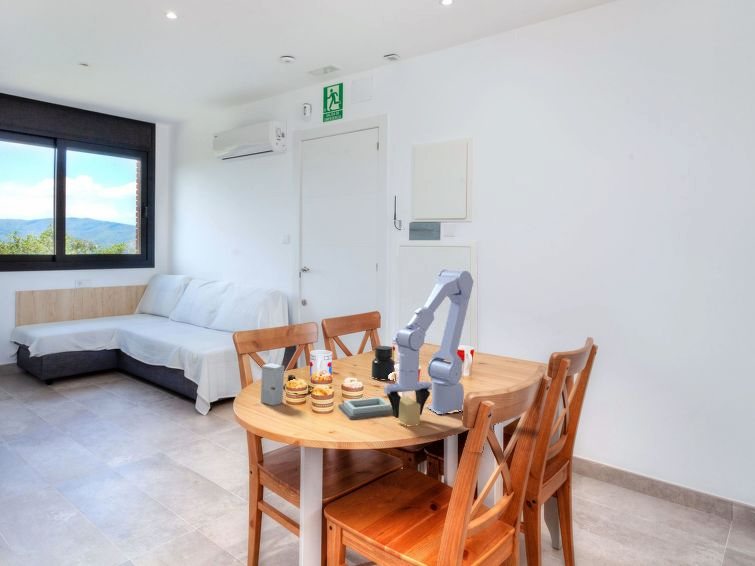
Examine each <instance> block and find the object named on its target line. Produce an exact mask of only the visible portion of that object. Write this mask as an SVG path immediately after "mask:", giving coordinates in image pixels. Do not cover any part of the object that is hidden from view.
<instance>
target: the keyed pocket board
mask: <svg viewBox="0 0 755 566" xmlns="http://www.w3.org/2000/svg"><path fill="white" fill-rule="evenodd" d="M337 406H338V409H339V410H340V411H341V413H343V415H345V416H346V417H347V418H348V419H349V420H357V419H363V418H364V419H365V418H375V417H382V416H389V415H390V414H392V415H393V410H392V406H391V403H390V402H388V401H386V400H385V399H384V398H382V397H380V396H377V397H367V398H357V399H350V400H349V399H348V400H347V399H346V400H343V404H341V403H340V404H337ZM390 416H391V415H390Z"/></svg>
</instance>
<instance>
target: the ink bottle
mask: <svg viewBox="0 0 755 566" xmlns="http://www.w3.org/2000/svg"><path fill="white" fill-rule="evenodd" d="M374 357H375V358H374V359H372V361H371V378H372V377H374V378H377V379H388V375H389V374H390V373H392V372H394V365H395V364H396V363H395V360H393V358H392V357H393V347H392V346H388V345H377V346H375V347H374ZM374 378H373V379H374ZM377 379H376V380H377Z"/></svg>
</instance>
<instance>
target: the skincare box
mask: <svg viewBox="0 0 755 566" xmlns="http://www.w3.org/2000/svg"><path fill="white" fill-rule="evenodd" d="M284 376H285V366H284V365H281V364H277V363H273V362H272V363H271V362H270V363H266V364H264V365H262V366H261V385H260V386H261V387H260V403H263V404H266V405H269V406H278V405H280V404H282V403H283V402H284V401H283V400H284V399H283V398H284V389H283V386H284V384H285V383H284V380H285V379H284V378H285V377H284Z"/></svg>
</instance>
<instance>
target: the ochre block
mask: <svg viewBox="0 0 755 566" xmlns="http://www.w3.org/2000/svg"><path fill="white" fill-rule="evenodd" d="M400 397H401V399H400V404H399V417H398V419H399V420H400V421H399V422H401V423H402V422H403V423H404V424H406V425H416V424H420V425H421V415H420V404H419V403H417V402H416V400H414V399H413V398H411V397H410V396H400ZM398 419H397V420H398ZM403 423H402V424H403ZM404 424H403V425H404ZM406 425H405V426H406ZM416 426H417V425H416Z"/></svg>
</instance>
